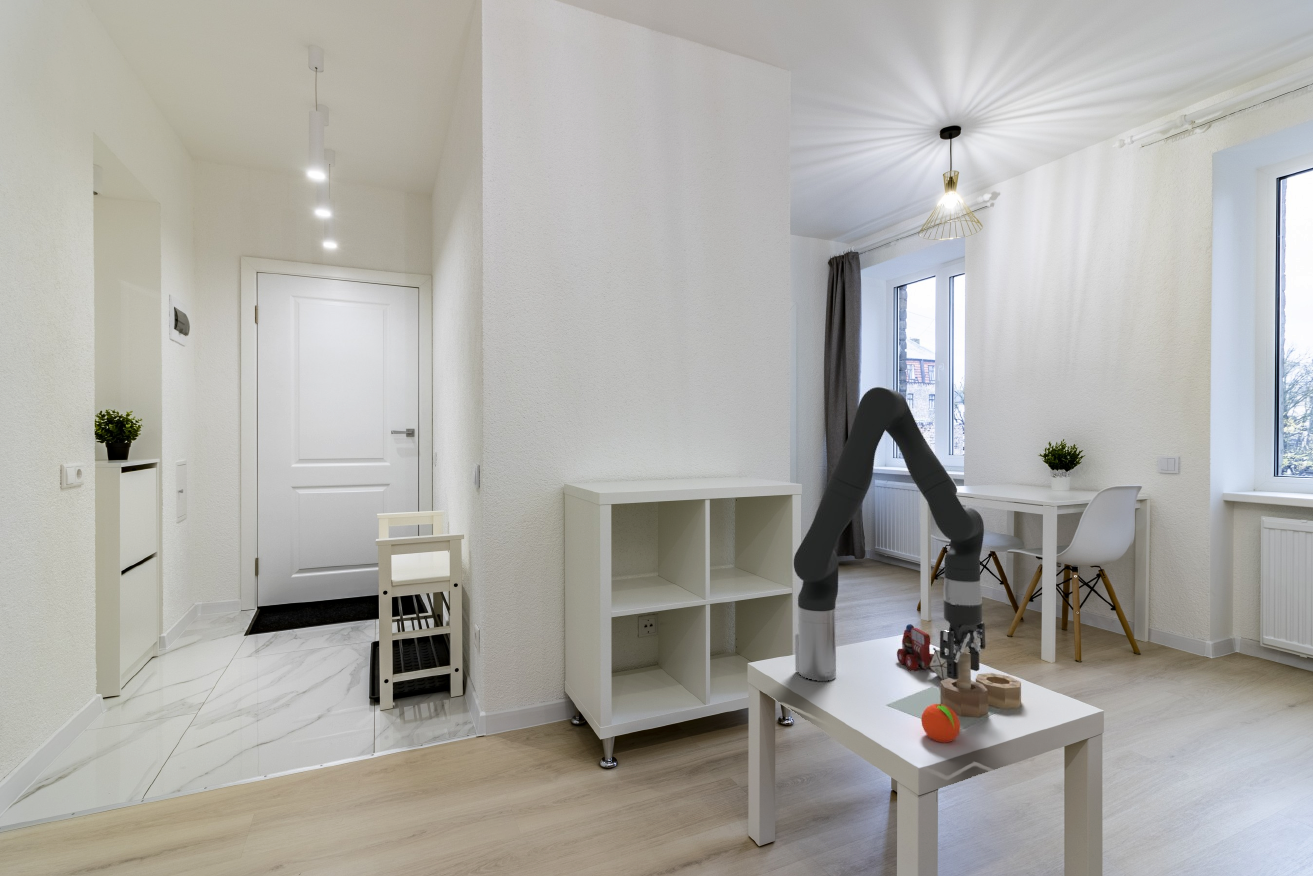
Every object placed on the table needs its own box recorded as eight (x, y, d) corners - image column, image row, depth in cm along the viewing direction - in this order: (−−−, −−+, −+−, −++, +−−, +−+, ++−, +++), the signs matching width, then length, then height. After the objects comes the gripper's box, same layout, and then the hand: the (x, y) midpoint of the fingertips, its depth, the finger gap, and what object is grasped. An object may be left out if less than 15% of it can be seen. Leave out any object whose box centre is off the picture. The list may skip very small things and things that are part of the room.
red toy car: (917, 658, 169) (917, 620, 169) (941, 675, 157) (941, 633, 157) (893, 659, 168) (892, 620, 169) (915, 675, 156) (914, 634, 156)
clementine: (971, 750, 117) (971, 713, 117) (937, 753, 116) (937, 715, 117) (946, 731, 125) (946, 696, 125) (914, 734, 124) (914, 698, 125)
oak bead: (974, 704, 138) (973, 682, 138) (979, 692, 145) (979, 670, 145) (1018, 714, 133) (1018, 690, 133) (1022, 700, 140) (1021, 678, 140)
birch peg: (954, 708, 135) (953, 652, 135) (961, 705, 137) (960, 650, 137) (966, 712, 133) (966, 656, 133) (973, 709, 134) (972, 653, 135)
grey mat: (886, 707, 137) (886, 704, 137) (932, 689, 147) (932, 686, 147) (956, 735, 124) (956, 732, 124) (1001, 712, 134) (1001, 709, 134)
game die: (955, 698, 151) (974, 674, 145) (920, 683, 153) (938, 658, 147) (953, 669, 158) (972, 645, 153) (920, 655, 160) (937, 631, 154)
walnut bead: (934, 706, 136) (933, 683, 136) (955, 697, 141) (955, 675, 141) (972, 720, 129) (972, 696, 129) (993, 710, 134) (993, 687, 134)
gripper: (963, 591, 142) (964, 662, 142) (927, 600, 134) (928, 676, 134) (996, 598, 136) (997, 672, 136) (961, 608, 128) (962, 687, 128)
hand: (963, 674), depth 135 cm, fingers open, 8 cm apart
